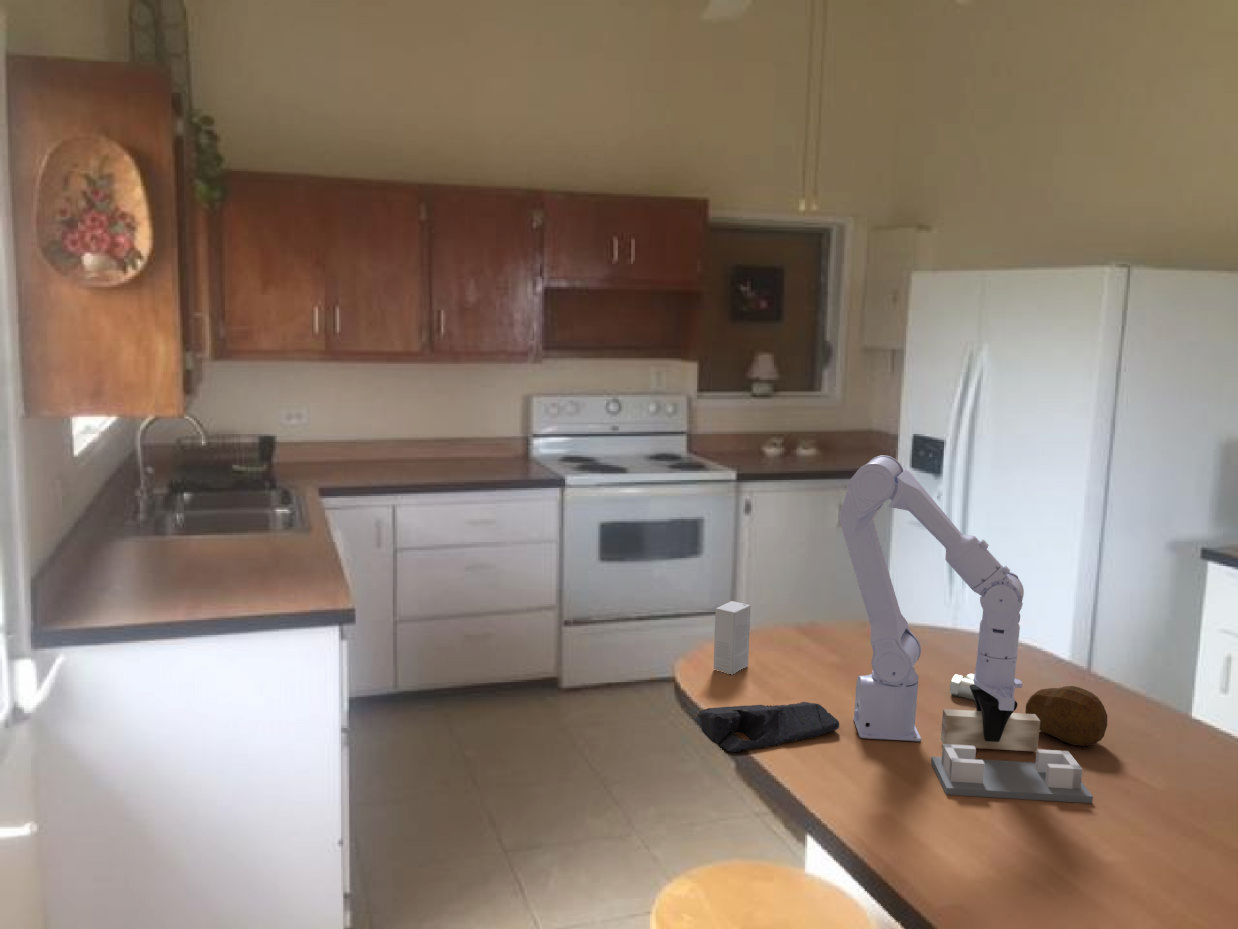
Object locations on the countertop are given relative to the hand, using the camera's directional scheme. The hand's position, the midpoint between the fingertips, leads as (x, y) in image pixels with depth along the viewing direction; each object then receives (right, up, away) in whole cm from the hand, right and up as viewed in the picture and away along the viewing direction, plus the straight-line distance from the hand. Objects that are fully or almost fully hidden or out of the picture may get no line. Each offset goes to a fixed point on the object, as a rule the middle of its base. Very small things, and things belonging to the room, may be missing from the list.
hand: (989, 736), depth 163 cm
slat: (0, -1, 0) cm, 2 cm away
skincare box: (-37, +4, +32) cm, 49 cm away
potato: (+14, -2, +5) cm, 15 cm away
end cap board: (-1, -4, -10) cm, 11 cm away
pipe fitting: (+6, +1, +21) cm, 22 cm away
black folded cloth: (-33, -1, +6) cm, 34 cm away
